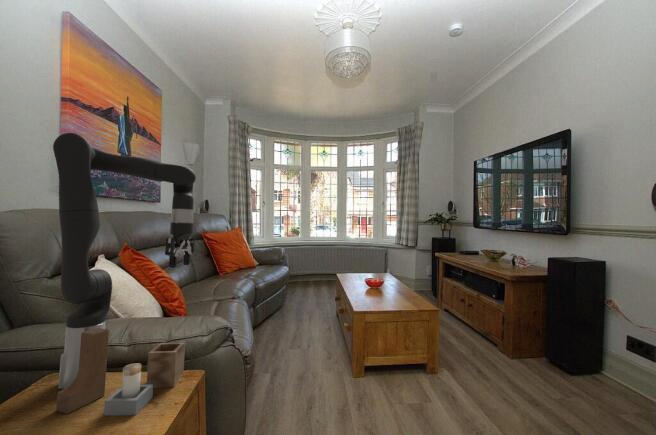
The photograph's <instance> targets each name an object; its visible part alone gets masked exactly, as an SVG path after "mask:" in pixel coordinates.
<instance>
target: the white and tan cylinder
mask: <svg viewBox="0 0 656 435" xmlns="http://www.w3.org/2000/svg"><path fill="white" fill-rule="evenodd" d="M141 380H142V364H141V363H140V362H138V363H137V362H136V363H129V364H127V365H125V366H123V368H122V381H121V387H122V395H121V398H136V397H137V396H138V395H139V394H140V385H141Z"/></svg>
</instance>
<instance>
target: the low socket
mask: <svg viewBox="0 0 656 435" xmlns="http://www.w3.org/2000/svg"><path fill="white" fill-rule="evenodd" d="M153 392H154V388H153V384H147V383H145V384H140V394H139V395H138V396H137V397H136V398H121V395H122V386H121V387H120V388H118V390H116V391H115V392H114V393H113V394H112V395H110V396H109V397H108V398H106V399H105V400H104V404H103V405H104V407H103V408H104V409H103V416H137V414H138V413H139V412H140V411H141V410H142V409H143V408H144V407H145V406H146V405H148V403H149V402H150V401H151V400H152V399H153V395H154V393H153Z"/></svg>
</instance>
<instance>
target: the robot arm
mask: <svg viewBox="0 0 656 435" xmlns="http://www.w3.org/2000/svg"><path fill="white" fill-rule="evenodd" d="M52 150H53V153H54V158H55V162H56V166H57V172H58V181H59V182H58V183H59V184H58V214H59V216H58V217H59V223H60V224H59V225H60V233H61V235H60V236H61V253H62V254H61V270H60V271H61V273H60V274H61V275H60V276H61V277H60V291H61V295H62V297H63V299H64V300H65V301H66V302H67V303H69V304H71V305H76V304H77V305H78V304H79V306H78V308H76V309H75V310H74V311H73V312H71V313H70V314H69V315H68V316H67V318H66V320H65V321H66V322H65V323H66V325H65V336H64V338H65V339H64V351H63V353H62V354H61V355H60V363H59V373H58V374H59V375H58V388H57V389H59V390H63V389H65V388H67V387H68V386H70V385H71V383H72V382H73V381H74V380H75V379H76V377H77V373H78V370H79V358H80V344H81V333H82V332H85V331H89V330H92V329H96V328H101V329H106V324H107V322H106V321H107V318H106V317H107V315H108V313H109V312H110V309H111V308H110V307H111V300H112V293H113V280H112V277H111V274H110V273H109V272H108V271H107V270H104V269H103V268H99V269H98V268H96V269H90V268H89V267H90V266H89V253H90V250H91V248H92V245H93V244H94V241H95V239H96V238H97V236H98V234H99V231H100V226H101V224H100V223H101V222H100V221H101V220H100V212H99V205H98V199H97V195H96V193H95V189H94V185H93V181H92V174H91V171H101V172H110V173H115V174H119V175H120V174H121V175H125V176H126V175H127V176H131V177H135V178H139V179H144V180H148V181H149V180H150V181H152V182H159V183H162V182H165V183H169V184H170V183H171V184H172V188H173V189H172V190H173V191H172V192H173V195H172V200H171V201H172V206H171V213H170V214H171V215H170V226H169V227H170V228H169V234H170V235H172V237H167V238H166V239H165V248H164V250H165V252H164V255H165V256H168V257H169V260H168V261H169V262H168V267H169V268H172V269H173V268H177V266H178V265H177V262H178V260H177V259H178V257H177V256H178V254H179V253H180V252H181V251H182V253H183V261H182V262H183V265H184V266H189V265H190V264H191V255H192V254H194V253H195V237H191V236H192V235H193V234H194V219H195V218H194V217H195V216H194V202H195V201H194V200H195V199H194V196H193V195H194V193H193V192H194V184H195V182H196V178H197V177H196V176H197V175H196V173H195V171H194V170H193V169H191V168H190V167H187V166H183V165H178V164H172V163H171V164H170V163H163V162H160V161H157V160H152V159H149V158H144V157H139V156H129V155H127V156H126V155H118V154H112V153H110V152H106V151H102V150H99V149H96V148H94V147H93V146H92V144H91V143H90V141H89V140H88V139H86V138H85V137H84V136H83V135H80V134H78V133H74V132H66V133H62V134H60V135H59V136H57V138H55V140H54V142H53V145H52Z"/></svg>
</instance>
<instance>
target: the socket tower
mask: <svg viewBox="0 0 656 435" xmlns="http://www.w3.org/2000/svg"><path fill="white" fill-rule="evenodd" d="M185 349H186V342H160V343H159V344H157V345H156V346H155V347H154V348H152V349H151V350H150V351H149V352H148V354H147V370H146V371H147V372H146V373H147V374H146V384H153V389H158V388H162V387H163V388H174V387H175V386H176V385H177V384H178V382H179V381H180V380H179V378H180V377H181V375H182V374H183V373H184V372H185V352H186V350H185ZM184 374H185V373H184ZM184 374H183V375H184ZM181 378H182V377H181ZM181 378H180V379H181ZM178 380H179V381H178ZM177 381H178V382H177ZM176 383H177V384H176ZM175 384H176V385H175ZM173 386H174V387H173Z"/></svg>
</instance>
